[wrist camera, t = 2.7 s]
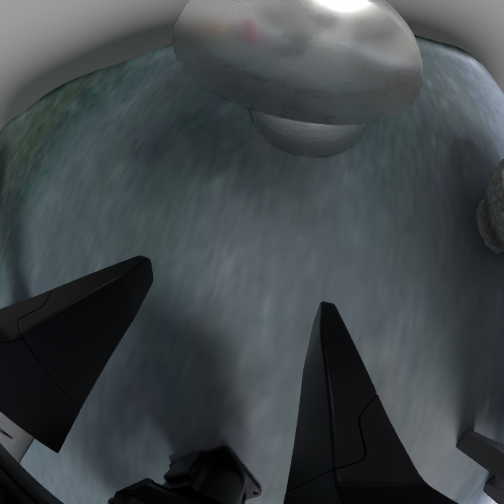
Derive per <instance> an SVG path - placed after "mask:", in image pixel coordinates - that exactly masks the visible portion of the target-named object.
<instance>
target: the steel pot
mask: <svg viewBox="0 0 504 504" xmlns="http://www.w3.org/2000/svg"><path fill="white" fill-rule="evenodd" d="M251 112H252V117H253V121H254V125H255V127H256V129H257V130H258V132H259V133H260V134H261V136H262V137H263V138H264V139H265V140H267V141H268V142H269V143H270V144H272V145H273V146H275V147H277V148H279V149H281V150H283V151H285V152H288V153H291V154H295V155H299V156H305V157H327V156H332V155H336V154H339V153H342V152H344V151H346V150H348V149H349V148H351V147H352V146H354V145H355V144H356V143H357V142H358V141H359V139H360V138H361V136H362V134H363V132H364V129H365V126H366V124H360V125H323V124H314V123H306V122H299V121H294V120H288V119H284V118H279V117H275V116H271V115H268V114H264V113H261V112H257V111H254V110H251Z"/></svg>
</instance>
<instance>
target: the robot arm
mask: <svg viewBox="0 0 504 504" xmlns="http://www.w3.org/2000/svg"><path fill="white" fill-rule="evenodd" d="M152 283H153V272H152V265H151V260H150V259H149V258H147V257H144V256H136V257H133V258H131V259H128V260H125V261H123V262H120V263H117V264H115V265H112V266H110V267H107V268H104V269H102V270H99V271H97V272H94V273H92V274H89V275H87V276H84V277H82V278H79V279H77V280H74V281H72V282H69V283H67V284H64V285H62V286H59V287H57V288H55V289H53V290H50V291H47V292H45V293H43V294H40V295H38V296H35V297H33V298H30V299H27V300H24V301H22V302H19V303H16V304H13V305H10V306H8V307H5V308H2V309H0V504H64V503H62V502H61V501H60V500H59V499H57V498H56V497H55V496H54V495H52V494H51V493H50V492H49V491H48V490H47V489H45V488H44V487H43V486H42V485H41V484H40V483H39V482H38V481H37V480H35V479H34V478H33V477H32V476H31V475H30V474H29V473H28V472H27V471H26V470H25V469H24V468H23V467H22V466H21V465H20V464H19V463H20V462H21V460H22V458H23V457H24V455H25V453H26V452H27V450H28V449H29V447H30V445H31V444H32V442H33V441H34V439H36V440H38V441H39V442H41V443H42V444H44V445H45V446H47V447H48V448H50V449H51V450H53V451H55V452H56V453H58V452H59V451H60V449H61V447H62V445H63V443H64V441H65V439H66V437H67V435H68V433H69V431H70V429H71V427H72V425H73V423H74V421H75V419H76V417H77V416H78V414H79V412H80V409H81V408H82V406H83V404H84V402H85V400H86V399H87V397H88V395H89V393H90V391H91V390H92V388H93V386H94V384H95V382H96V381H97V379H98V377H99V375H100V374H101V372H102V370H103V369H104V367H105V365H106V364H107V362H108V360H109V358H110V357H111V355H112V353H113V352H114V350H115V349H116V347H117V345H118V344H119V342H120V340H121V339H122V337H123V336H124V334H125V332H126V331H127V329H128V328H129V326H130V324H131V323H132V321H133V320H134V318H135V316H136V314H137V312H138V310H139V308H140V306H141V304H142V302H143V300H144V298H145V297H146V295H147V293H148V291H149V289H150V287H151V285H152ZM376 393H377V392H376V390H375V387H374V385H373V383H372V381H371V379H370V376H369V374H368V372H367V370H366V368H365V366H364V363H363V361H362V359H361V357H360V355H359V353H358V351H357V349H356V346H355V344H354V342H353V340H352V338H351V336H350V334H349V332H348V330H347V328H346V326H345V324H344V322H343V320H342V318H341V316H340V314H339V312H338V310H337V308H336V306H335V305H334V304H333V303H329V302H324V301H322V302H321V303H320V305H319V308H318V311H317V314H316V317H315V320H314V323H313V327H312V332H311V337H310V341H309V346H308V351H307V355H306V359H305V364H304V369H303V377H302V387H301V396H300V404H299V412H298V420H297V427H296V434H295V441H294V448H293V454H292V460H291V466H290V472H289V478H288V483H287V489H286V493H285V498H284V503H283V504H458V503H457V502H455V501H453V500H452V499H450V498H448V497H446V496H445V495H443V494H442V493H440V492H438V491H437V490H435V489H433V488H432V487H431V486H429V485H428V484H427V483H426V482H425V481H424V480H423V479H422V477H421V476H420V475H419V473H418V471H417V470H416V468H415V466H414V464H413V463H412V461H411V459H410V457H409V455H408V453H407V452H406V450H405V448H404V446H403V444H402V443H401V441H400V439H399V437H398V435H397V434H396V432H395V430H394V428H393V426H392V424H391V422H390V420H389V418H388V416H387V414H386V412H385V410H384V407H383V405H382V403H381V401H380V398H379V396H378V395H377V394H376ZM221 450H225V451H226V453H224V452H222V451H221ZM169 467H170V469H169V471H168V472H167V473H166V474H165V475H164V479H165V481H166V482H165V483H164V484H163V485H160V484H157V483H155V482H154V481H153V480H151V479H149V478H146V479H143V480H141V481H139V482H137V483H135V484H133V485H130V486H128V487H126V488H124V489H122V490H120V491H117V492H116V493H115V495H114V497H113V498H110V499H109V500H108V504H245V501H246V500H247V499H251V498H254V497H257V496H260V495H261V491H262V490H261V489H260V488H259V486H258V485H257V484H256V483H255V482H254V480H253V479H252V478H251V477H250V475H249V474H248V473H247V472H246V470H245V469H244V468H243V467H242V465H241V464H240V463H239V461H238V460H237V459H236V457H235V456H234V455H233V453H232V452H231V451H230V449H229V448H228V447H226V446H220V447H218V448H215V449H212V450H209V451H206V452H205V451H202V450H201V451H198V452H195V453H192V454H188V455H185V456H182V457H180V458H179V459H178V460H177V461H173V462H171V464H170V465H169ZM254 491H257V492H254Z"/></svg>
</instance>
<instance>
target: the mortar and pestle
mask: <svg viewBox="0 0 504 504" xmlns="http://www.w3.org/2000/svg"><path fill="white" fill-rule="evenodd" d="M476 216H477V224H478V231H479V232H480V234H481V236H482V238H483V240H484V242H485V244H486V246H487V247H489V248H490V249H491V250H493V251H494V252H496V253H497V254H498V253H500V252H503V251H504V159H503V160H502V161H501V162H500V163H499V164H498V165H497V167H496V168H495V170H494V171H493V173H492V176H491V179H490V182H489V185H488V187H487V190H486V194H485V197H484V199H483V200H481V202H480V204H479V206H478V209H477V211H476Z"/></svg>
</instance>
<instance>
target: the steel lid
mask: <svg viewBox="0 0 504 504" xmlns="http://www.w3.org/2000/svg"><path fill="white" fill-rule="evenodd" d="M172 44H173V49H174V53H175V55H176V58H177V60H178V61H179V63H180V65H181V66H182V68H183V69H184V70H185V71H186V72H187V73H188V74H189V75H190V76H191V77H192V78H193V79H194V80H195V81H196V82H198V83H199V84H201V85H202V86H203V87H205V88H206V89H208V90H209V91H211V92H213V93H215V94H216V95H218V96H220V97H222V98H224V99H226V100H228V101H231V102H233V103H235V104H238V105H240V106H243V107H246V108H248V109H251V110H254V111H257V112H261V113H264V114H268V115H271V116H275V117H279V118H284V119H288V120H294V121H299V122H306V123H314V124H323V125H360V124H368V123H374V122H379V121H382V120H386V119H389V118H391V117H394V116H396V115H398V114H400V113H402V112H403V111H404V110H406V109H407V108H408V107H410V106H411V105H412V103H413V102H414V101H415V100H416V98H417V96H418V95H419V93H420V90H421V86H422V81H423V70H422V62H421V55H420V51H419V46H418V44H417V41H416V39H415V37H414V35H413V33H412V31H411V30H410V28H409V26H408V25H407V24H406V22H405V21H404V19H403V18H402V17H401V16H400V15H399V14H398V13H397V12H396V11H395V10H394V9H393V7H392V6H390V5H389V4H388V3H387V2H385V1H384V0H190V1H189V2H188V3H187V5H186V7H185V8H184V10H183V12H182V14H181V16H180V17H179V19H178V21H177V22H176V25H175V28H174V31H173V39H172Z"/></svg>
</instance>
